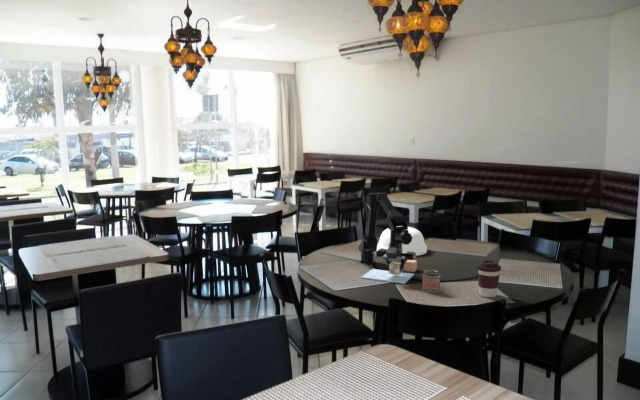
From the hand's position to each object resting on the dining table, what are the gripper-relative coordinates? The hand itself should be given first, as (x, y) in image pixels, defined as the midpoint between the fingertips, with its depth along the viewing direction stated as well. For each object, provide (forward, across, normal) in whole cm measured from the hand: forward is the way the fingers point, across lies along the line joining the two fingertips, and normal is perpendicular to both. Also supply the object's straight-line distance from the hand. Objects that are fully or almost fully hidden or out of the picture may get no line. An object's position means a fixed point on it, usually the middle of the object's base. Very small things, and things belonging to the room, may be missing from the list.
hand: (395, 271), depth 257 cm
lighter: (+3, +21, -14) cm, 25 cm away
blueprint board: (+3, -4, 0) cm, 5 cm away
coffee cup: (+3, +45, -9) cm, 46 cm away
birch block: (+1, 0, 0) cm, 1 cm away
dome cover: (+4, -14, +56) cm, 58 cm away
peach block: (+3, +3, +16) cm, 17 cm away
